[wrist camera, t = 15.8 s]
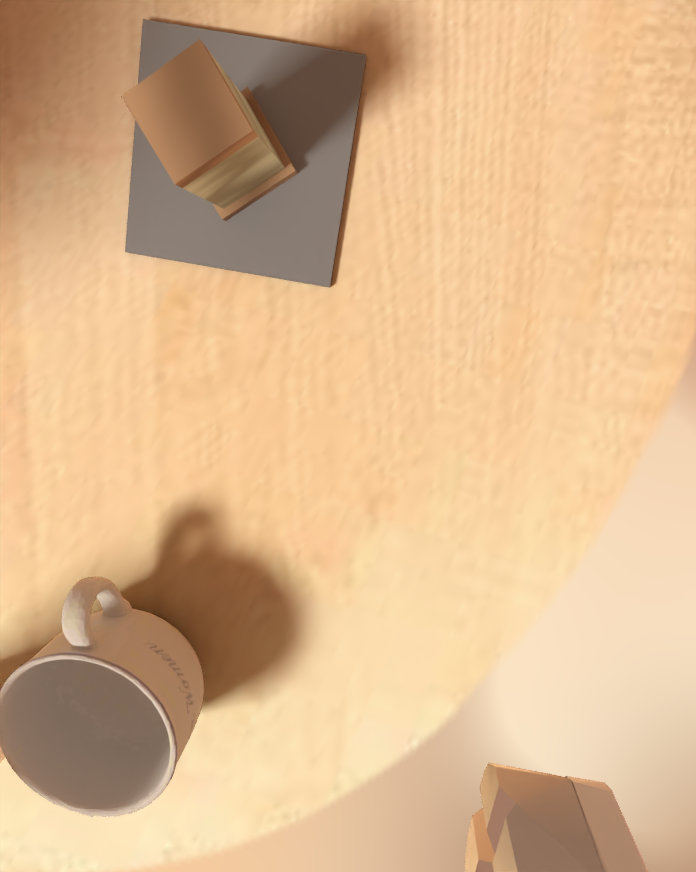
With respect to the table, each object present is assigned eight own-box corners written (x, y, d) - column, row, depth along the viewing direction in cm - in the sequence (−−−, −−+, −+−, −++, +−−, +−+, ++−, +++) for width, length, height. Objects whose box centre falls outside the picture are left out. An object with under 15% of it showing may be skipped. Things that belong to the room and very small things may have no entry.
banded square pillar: (225, 221, 34) (172, 198, 26) (178, 142, 34) (108, 93, 25) (297, 173, 33) (265, 133, 25) (251, 91, 33) (202, 23, 24)
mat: (128, 252, 36) (125, 252, 35) (145, 22, 33) (143, 19, 32) (330, 287, 35) (329, 287, 35) (366, 57, 32) (365, 54, 32)
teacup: (205, 741, 43) (164, 840, 35) (56, 708, 43) (-18, 799, 35) (234, 562, 40) (195, 627, 32) (73, 528, 40) (-5, 585, 32)
